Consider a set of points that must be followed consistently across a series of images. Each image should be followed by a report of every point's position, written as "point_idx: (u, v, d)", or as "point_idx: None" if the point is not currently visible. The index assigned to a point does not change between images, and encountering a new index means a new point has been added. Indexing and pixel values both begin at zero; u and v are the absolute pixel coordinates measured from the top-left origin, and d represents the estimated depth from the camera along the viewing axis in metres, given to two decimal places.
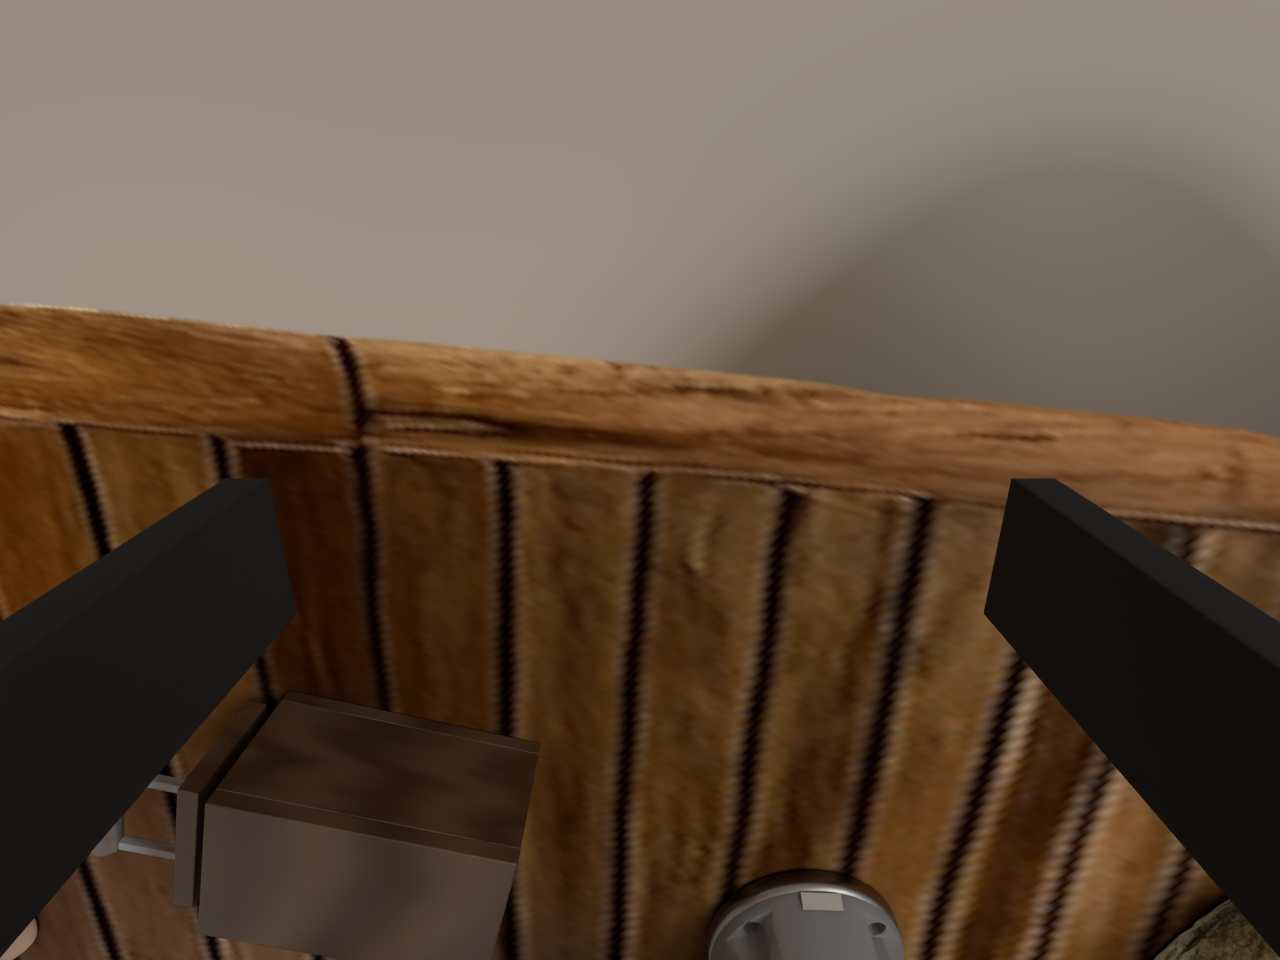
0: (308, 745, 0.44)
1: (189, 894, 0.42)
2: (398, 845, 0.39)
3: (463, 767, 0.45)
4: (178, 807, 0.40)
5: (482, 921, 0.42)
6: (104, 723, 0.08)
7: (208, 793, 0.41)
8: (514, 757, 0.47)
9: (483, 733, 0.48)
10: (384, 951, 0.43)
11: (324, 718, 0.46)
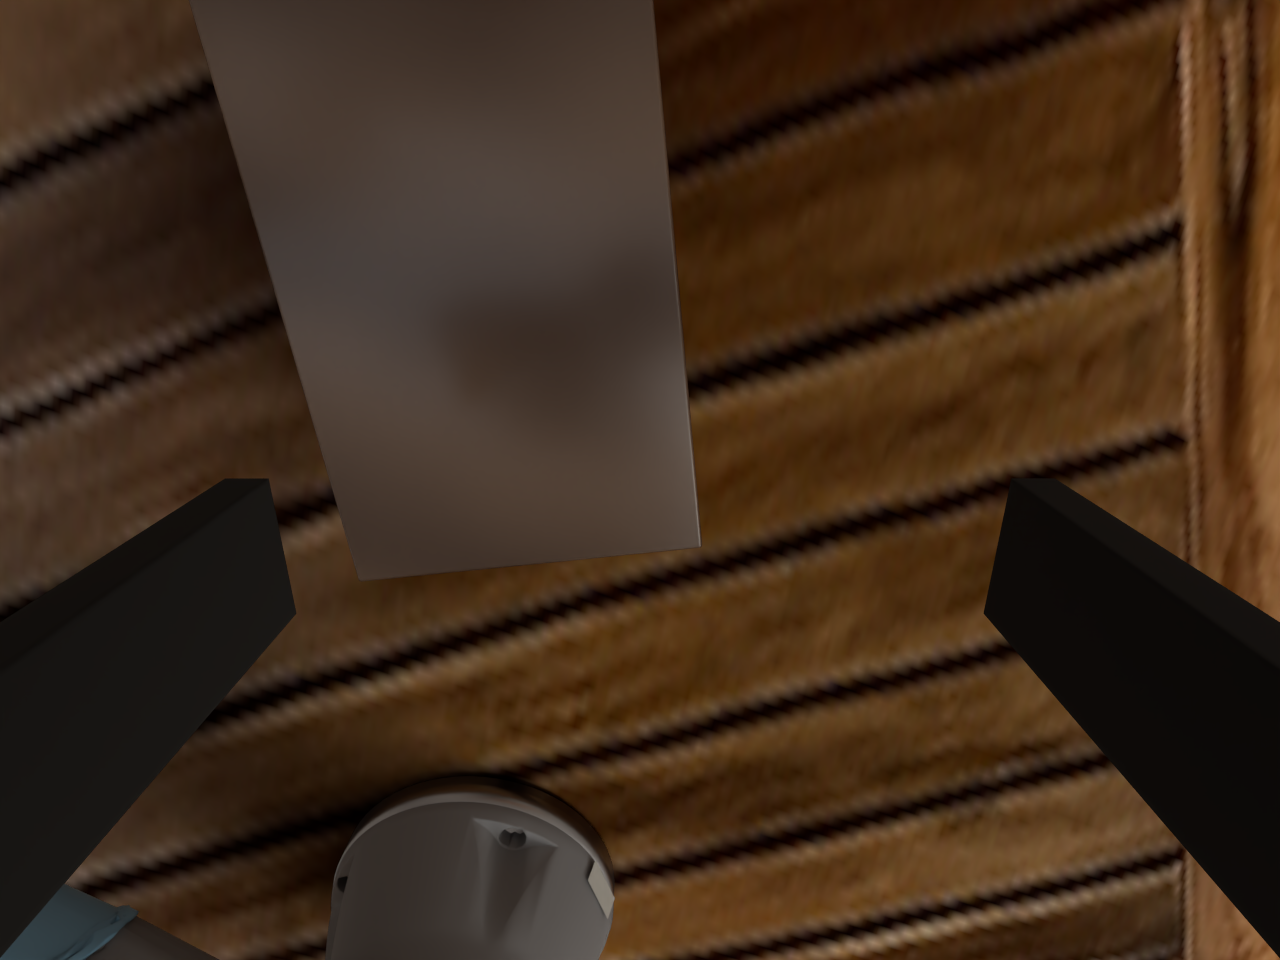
0: None
1: None
2: (670, 323, 0.19)
3: None
4: None
5: (530, 532, 0.21)
6: (104, 723, 0.08)
7: None
8: None
9: None
10: (349, 374, 0.19)
11: None
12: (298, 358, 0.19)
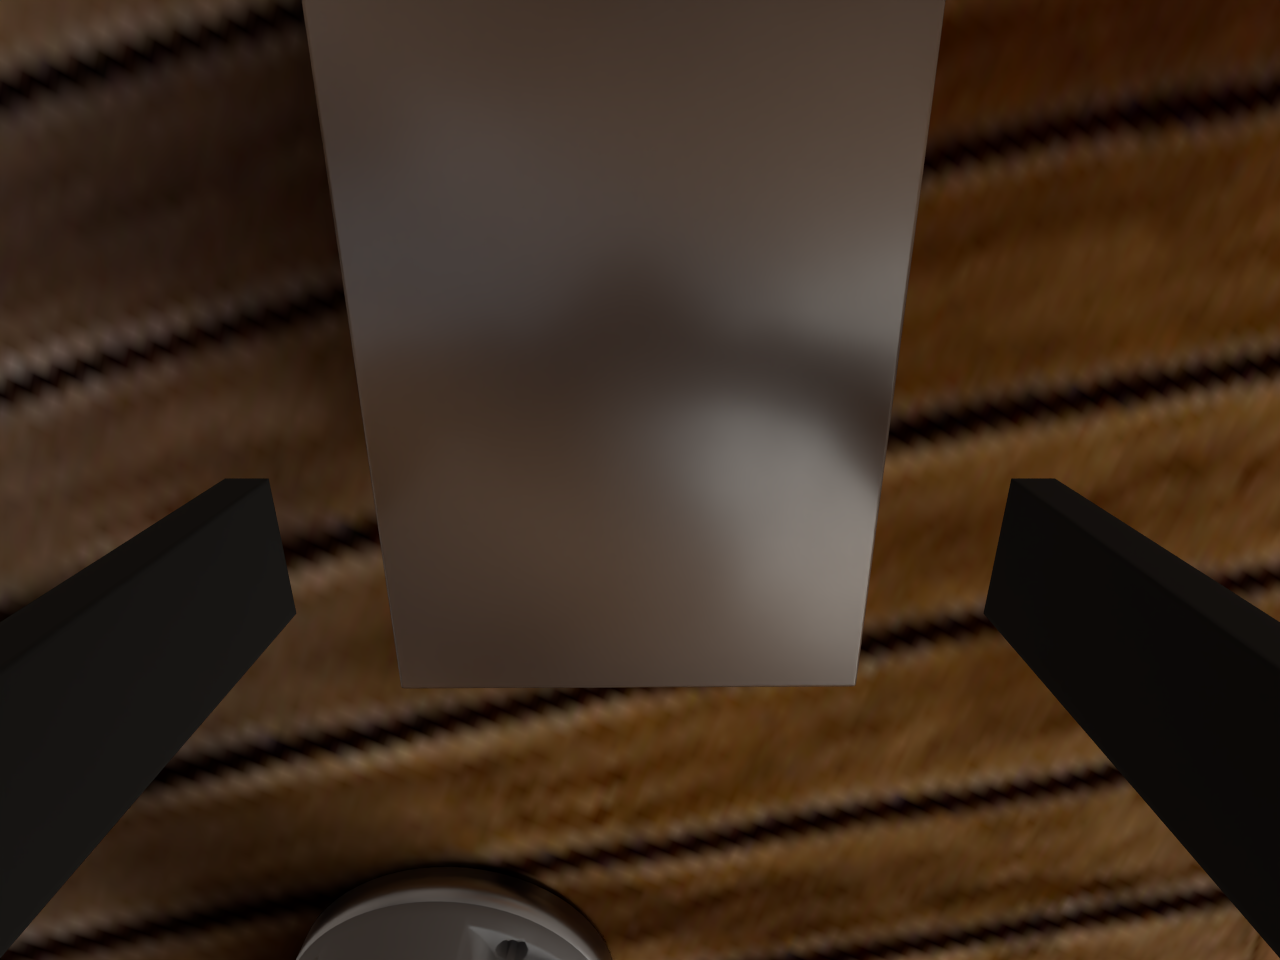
0: None
1: None
2: (878, 404, 0.14)
3: None
4: None
5: (639, 648, 0.16)
6: (104, 723, 0.08)
7: None
8: None
9: None
10: (433, 424, 0.14)
11: None
12: (365, 396, 0.14)
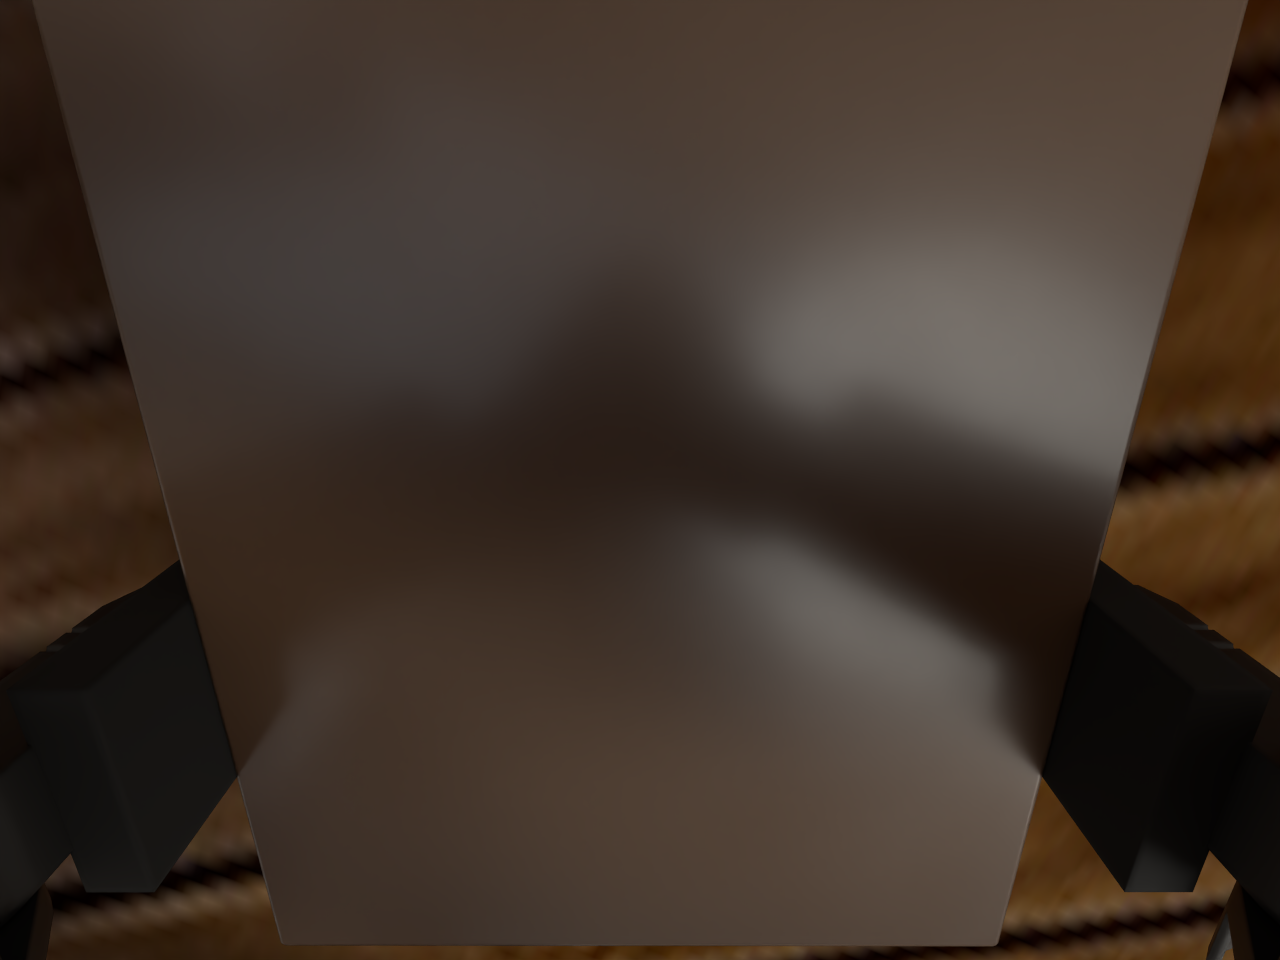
0: None
1: None
2: (1083, 532, 0.08)
3: None
4: None
5: (655, 894, 0.10)
6: None
7: None
8: None
9: None
10: (302, 562, 0.08)
11: None
12: (178, 516, 0.08)
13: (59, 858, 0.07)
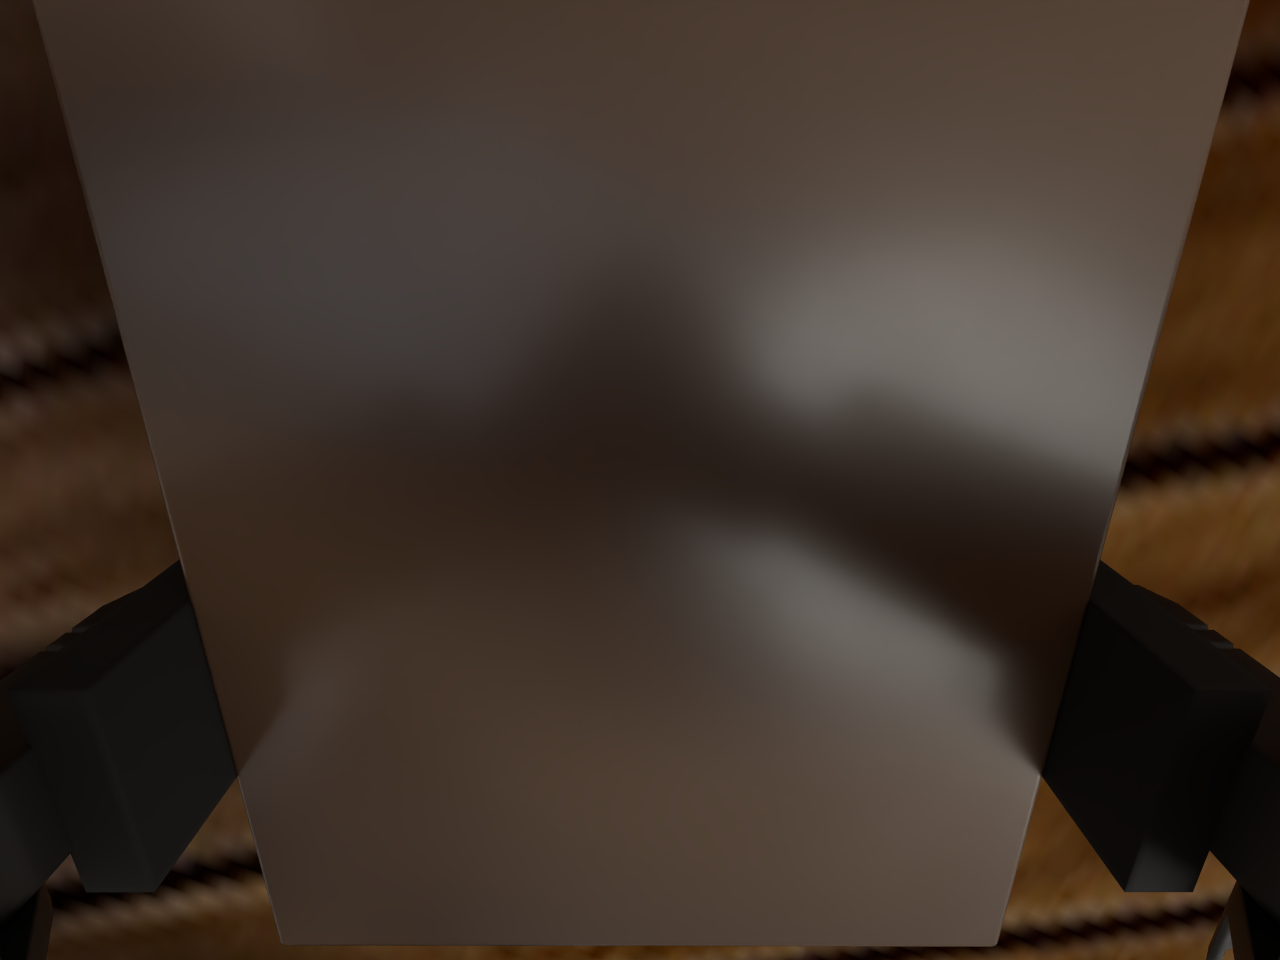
0: None
1: None
2: (1083, 533, 0.08)
3: None
4: None
5: (655, 894, 0.10)
6: None
7: None
8: None
9: None
10: (302, 562, 0.08)
11: None
12: (178, 516, 0.08)
13: (59, 858, 0.07)
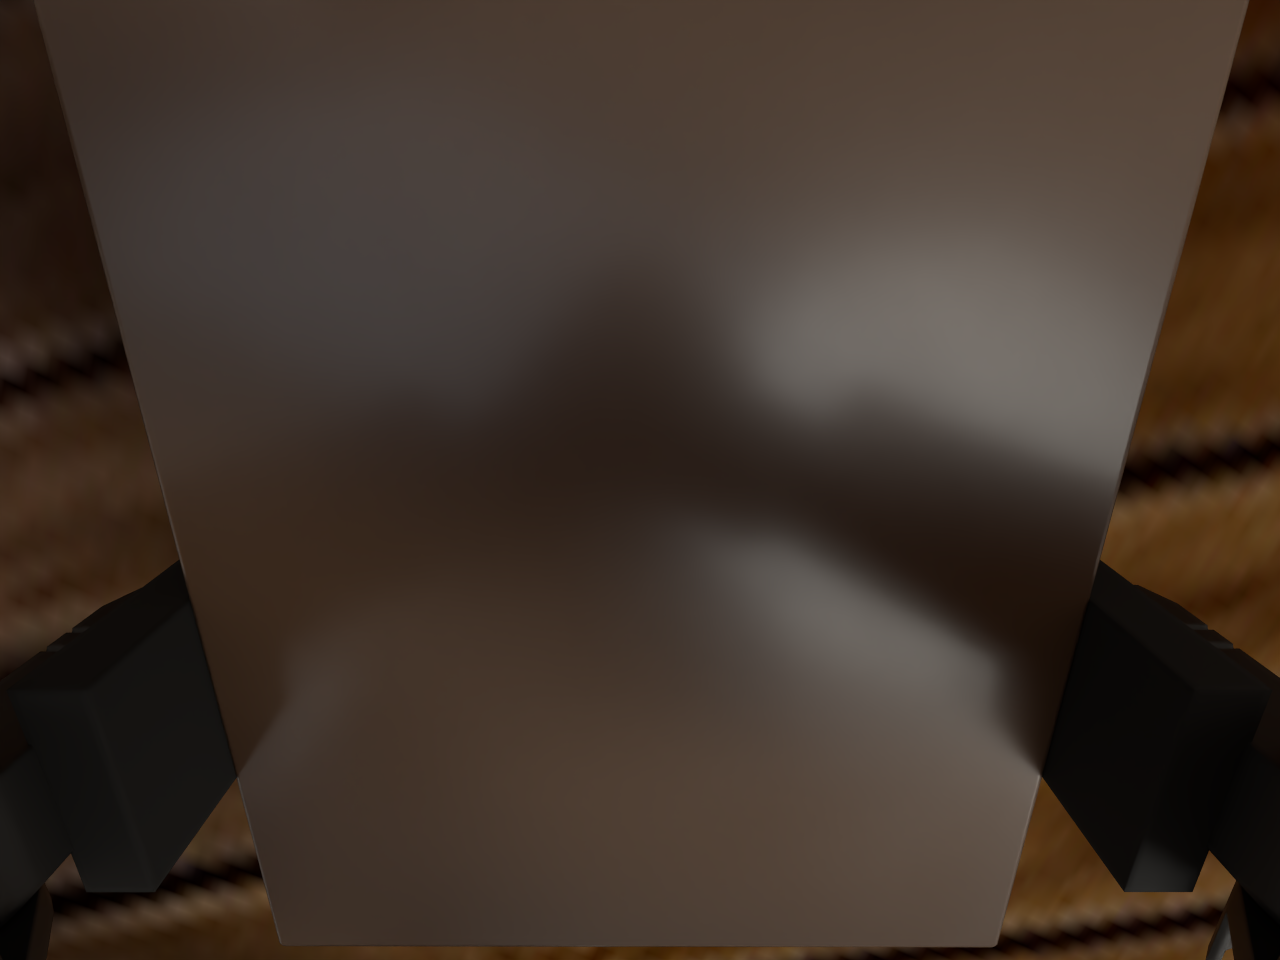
0: None
1: None
2: (1083, 533, 0.08)
3: None
4: None
5: (655, 894, 0.10)
6: None
7: None
8: None
9: None
10: (301, 563, 0.08)
11: None
12: (178, 516, 0.08)
13: (59, 858, 0.07)
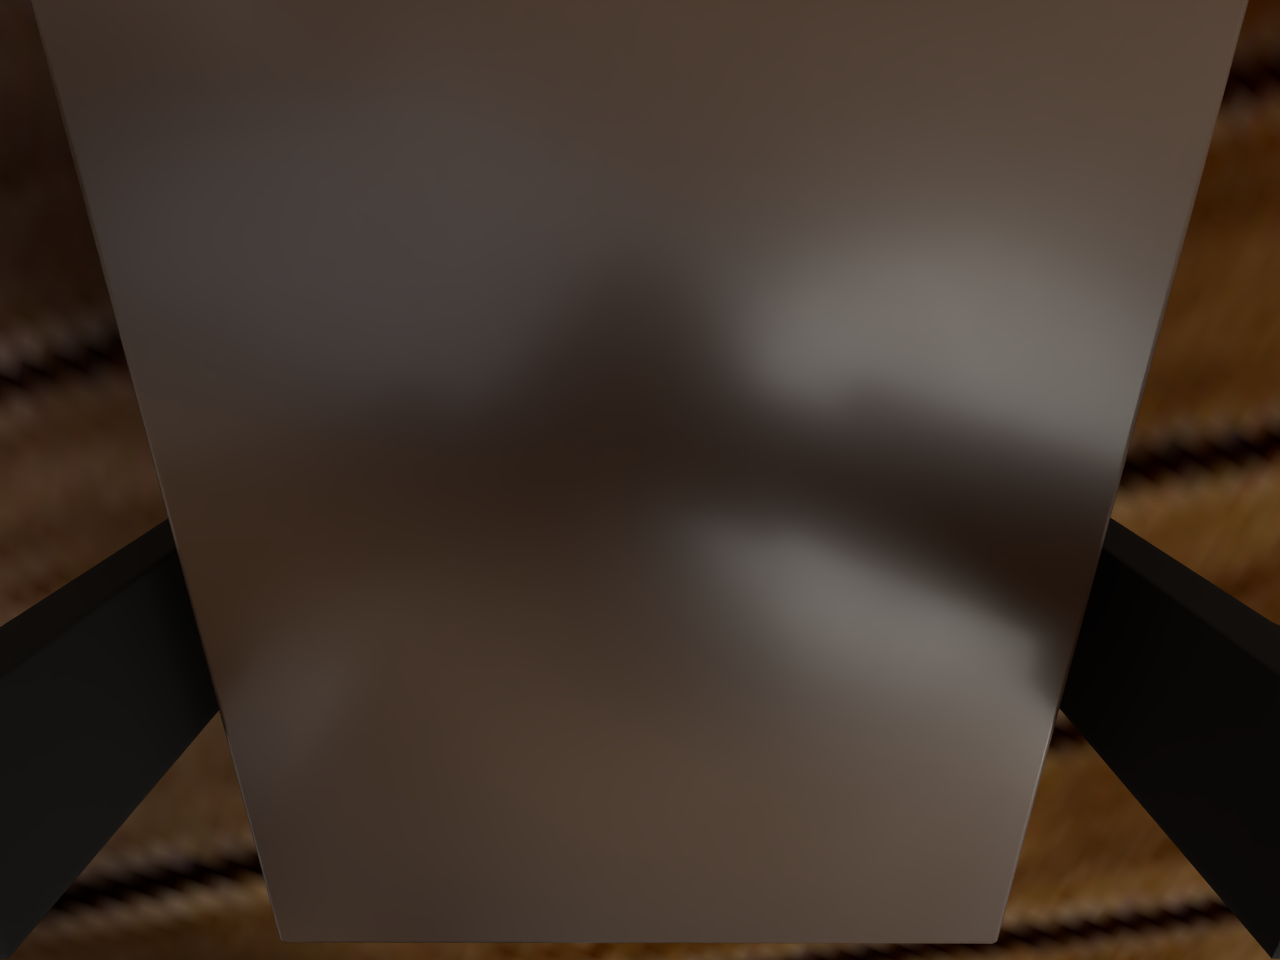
0: None
1: None
2: (1083, 529, 0.08)
3: None
4: None
5: (655, 891, 0.10)
6: (116, 719, 0.08)
7: None
8: None
9: None
10: (300, 559, 0.08)
11: None
12: (176, 513, 0.08)
13: None
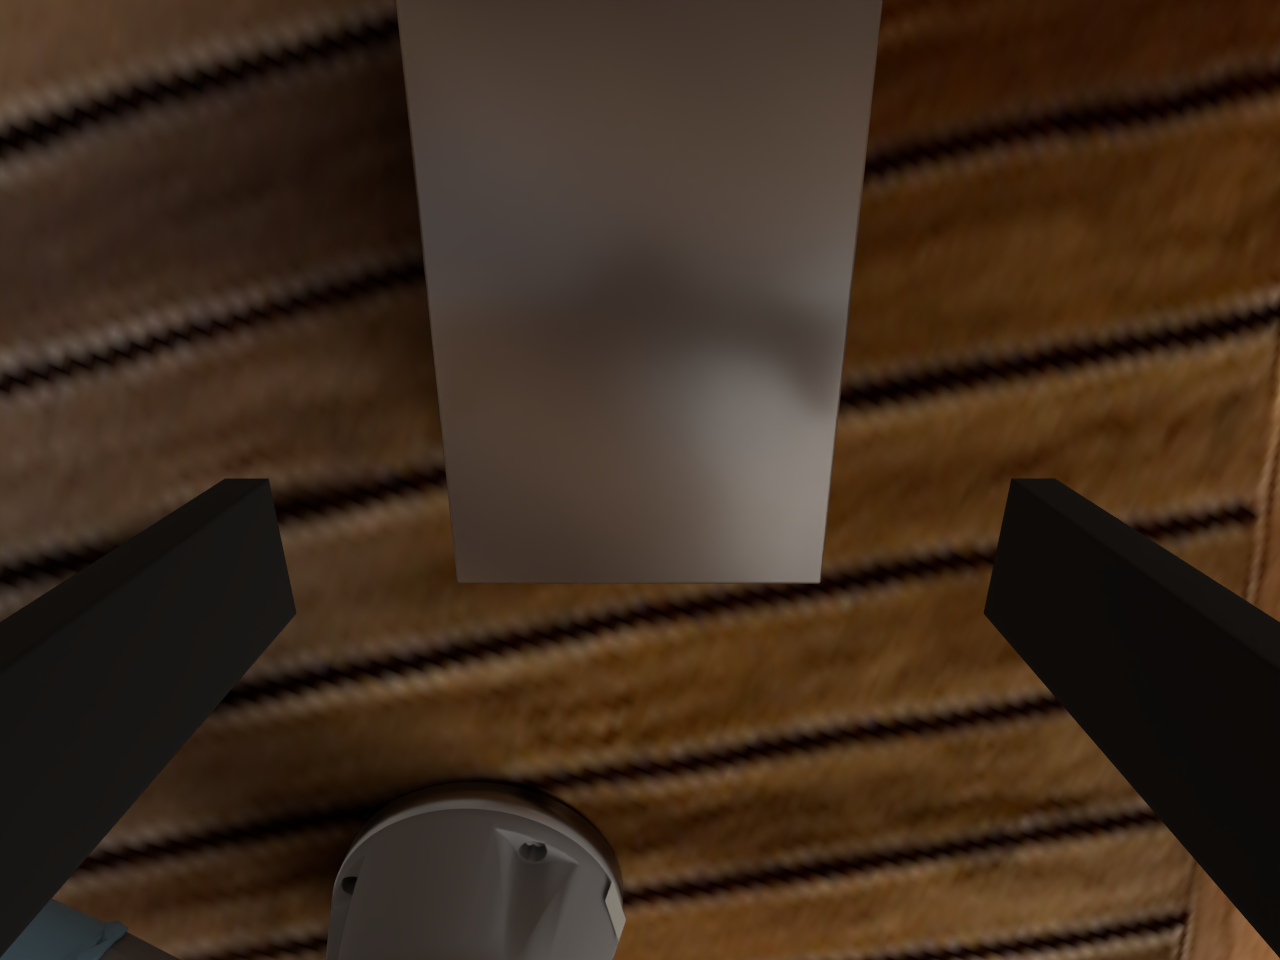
0: None
1: None
2: (834, 352, 0.18)
3: None
4: None
5: (647, 550, 0.20)
6: (105, 723, 0.08)
7: None
8: None
9: None
10: (489, 367, 0.18)
11: None
12: (437, 344, 0.18)
13: None
